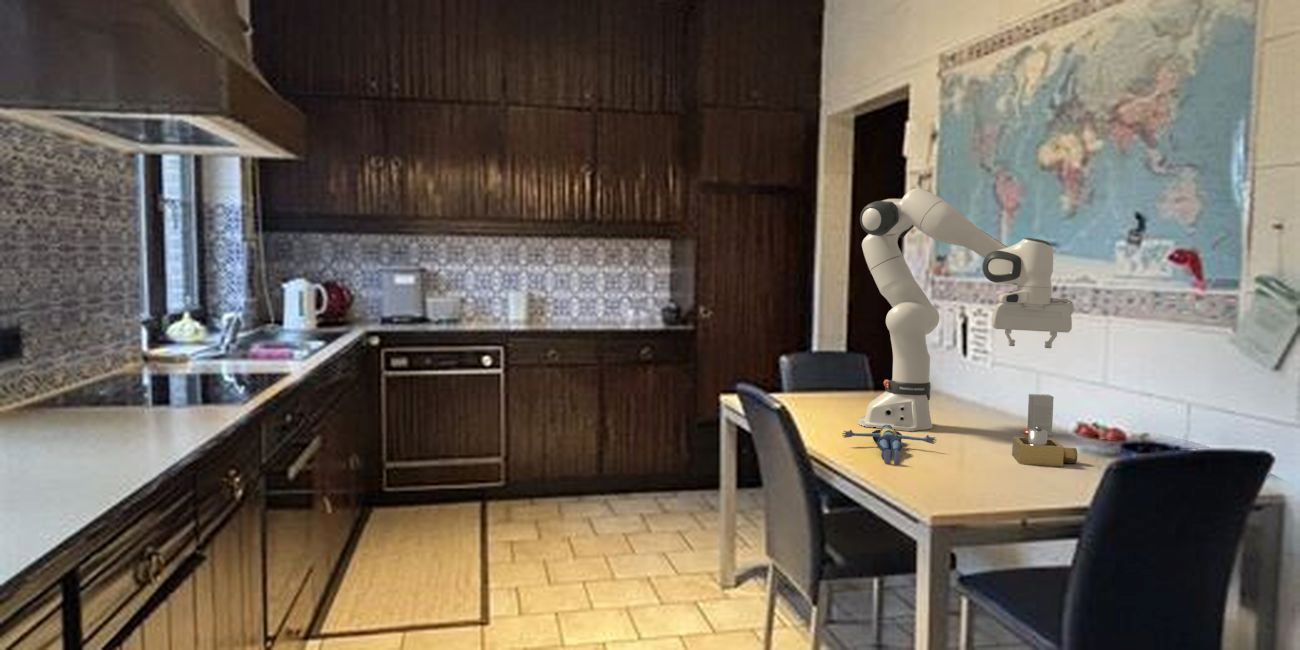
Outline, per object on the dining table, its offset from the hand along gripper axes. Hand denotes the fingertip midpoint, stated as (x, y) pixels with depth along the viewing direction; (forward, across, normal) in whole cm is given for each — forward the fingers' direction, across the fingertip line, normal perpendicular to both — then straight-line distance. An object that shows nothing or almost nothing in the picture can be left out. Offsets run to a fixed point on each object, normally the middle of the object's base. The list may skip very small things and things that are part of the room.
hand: (1029, 347), depth 238 cm
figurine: (+29, +37, +19) cm, 51 cm away
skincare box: (+29, -8, -22) cm, 37 cm away
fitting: (+28, -3, +14) cm, 32 cm away
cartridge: (+28, -1, +17) cm, 33 cm away
